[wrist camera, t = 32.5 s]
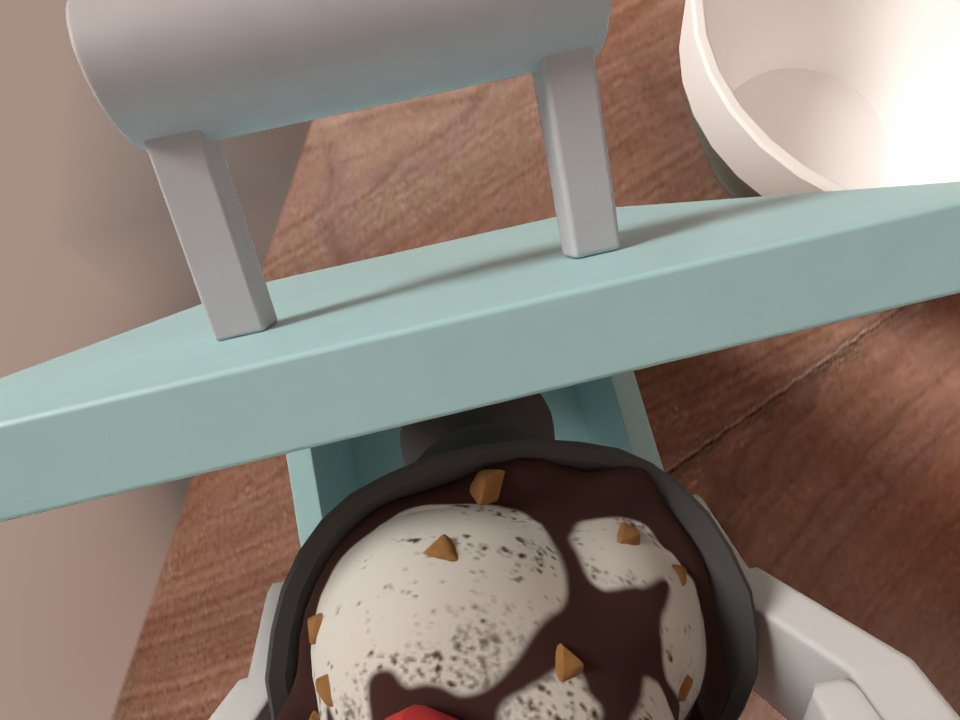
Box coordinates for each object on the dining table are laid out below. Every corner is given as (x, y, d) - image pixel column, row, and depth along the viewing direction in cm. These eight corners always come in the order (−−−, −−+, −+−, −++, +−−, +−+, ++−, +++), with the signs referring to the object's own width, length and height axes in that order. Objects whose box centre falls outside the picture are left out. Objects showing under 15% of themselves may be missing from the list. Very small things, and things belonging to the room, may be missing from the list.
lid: (1077, 266, 6) (1132, -373, 4) (-260, 587, 5) (-695, -36, 4) (594, 233, 22) (573, 96, 21) (259, 309, 22) (214, 173, 20)
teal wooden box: (646, 584, 27) (713, 627, 19) (374, 654, 26) (328, 728, 19) (562, 291, 30) (590, 227, 23) (320, 347, 30) (261, 301, 22)
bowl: (707, -32, 35) (788, -216, 26) (1002, 87, 33) (1206, -66, 24) (578, 211, 31) (617, 98, 22) (900, 362, 29) (1094, 309, 20)
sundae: (351, 355, 16) (-501, 1133, 2) (565, 320, 17) (1486, 738, 2) (391, 550, 18) (96, 2012, 3) (591, 515, 18) (1278, 1712, 3)
